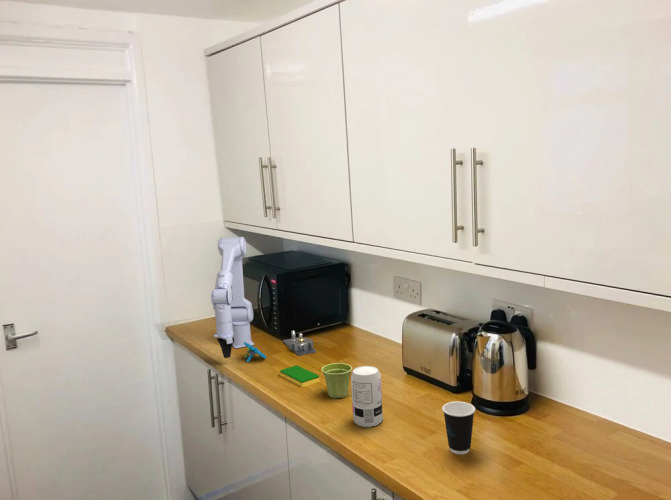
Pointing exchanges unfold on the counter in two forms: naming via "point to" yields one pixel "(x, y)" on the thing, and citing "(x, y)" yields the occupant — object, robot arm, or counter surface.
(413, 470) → the counter surface
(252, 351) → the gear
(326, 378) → the plant pot
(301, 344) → the gear board
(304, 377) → the dish sponge
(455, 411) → the dixie cup
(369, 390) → the supplement can
